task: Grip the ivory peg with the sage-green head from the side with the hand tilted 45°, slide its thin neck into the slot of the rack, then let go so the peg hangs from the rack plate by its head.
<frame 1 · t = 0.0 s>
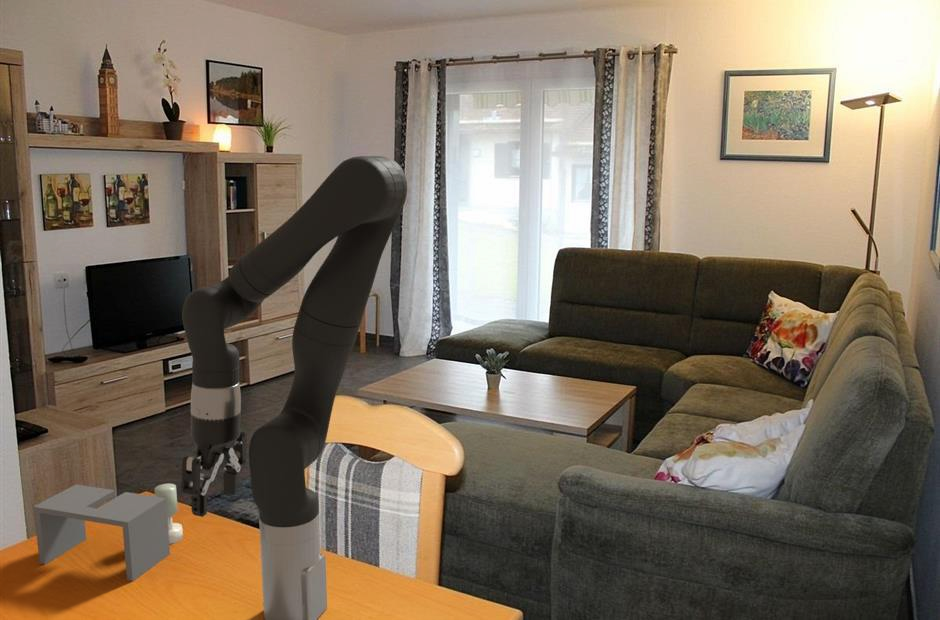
hand: (215, 503, 129), 17 cm above the table, tool pointing down, fingers open, 8 cm apart
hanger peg: (169, 538, 153), on the table
slotted rack: (101, 561, 144), on the table
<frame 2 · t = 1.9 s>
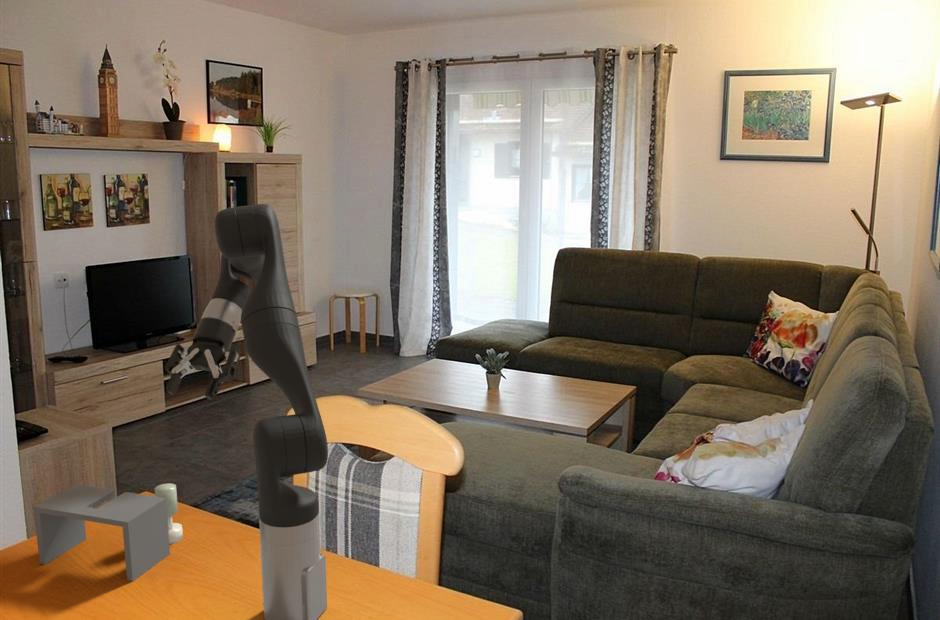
hand: (189, 395, 157), 26 cm above the table, tool tilted 45°, fingers open, 8 cm apart
nothing on the table moved.
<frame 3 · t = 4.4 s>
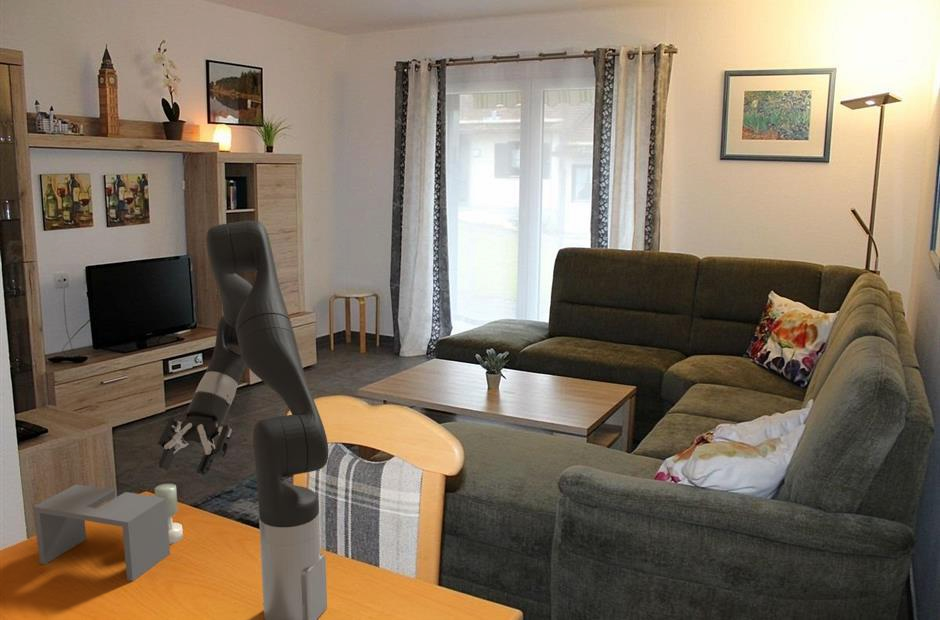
hand: (181, 472, 155), 12 cm above the table, tool tilted 45°, fingers open, 8 cm apart
nothing on the table moved.
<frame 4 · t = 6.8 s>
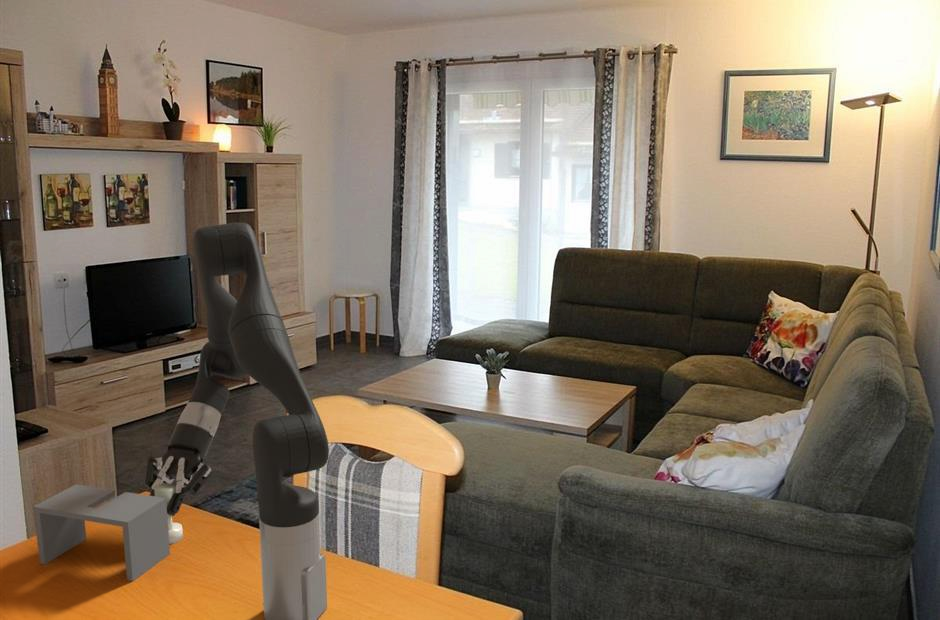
hand: (160, 512, 150), 6 cm above the table, tool tilted 45°, fingers closed on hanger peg, 3 cm apart
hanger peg: (169, 538, 153), on the table, touching gripper
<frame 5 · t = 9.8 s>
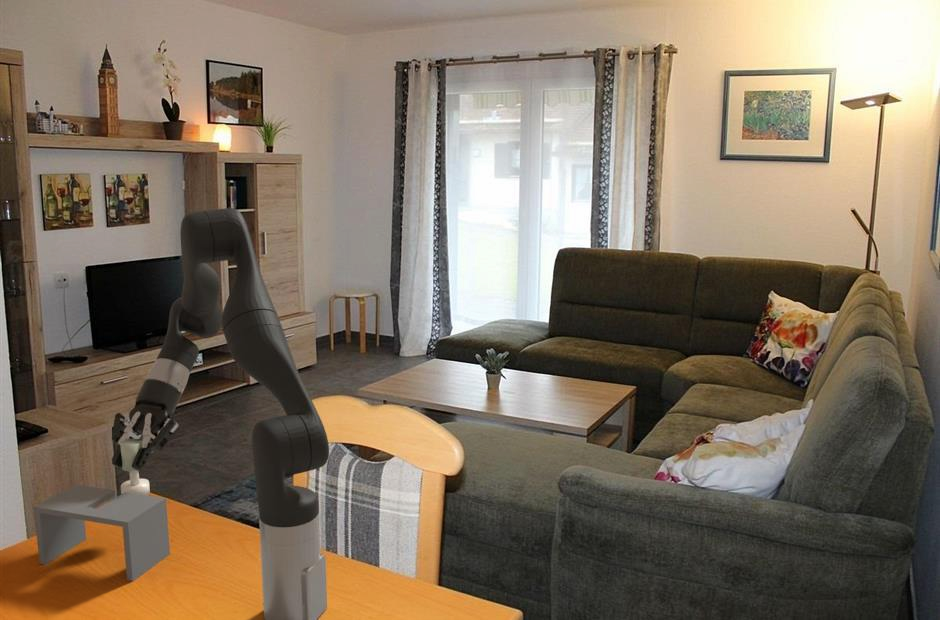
hand: (126, 467, 149), 15 cm above the table, tool tilted 45°, fingers closed on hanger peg, 3 cm apart
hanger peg: (135, 493, 152), point 9 cm above the table, touching gripper
when the fingers open (13 cm above the table, at t = 13.0 s): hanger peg drops 1 cm, resting on slotted rack.
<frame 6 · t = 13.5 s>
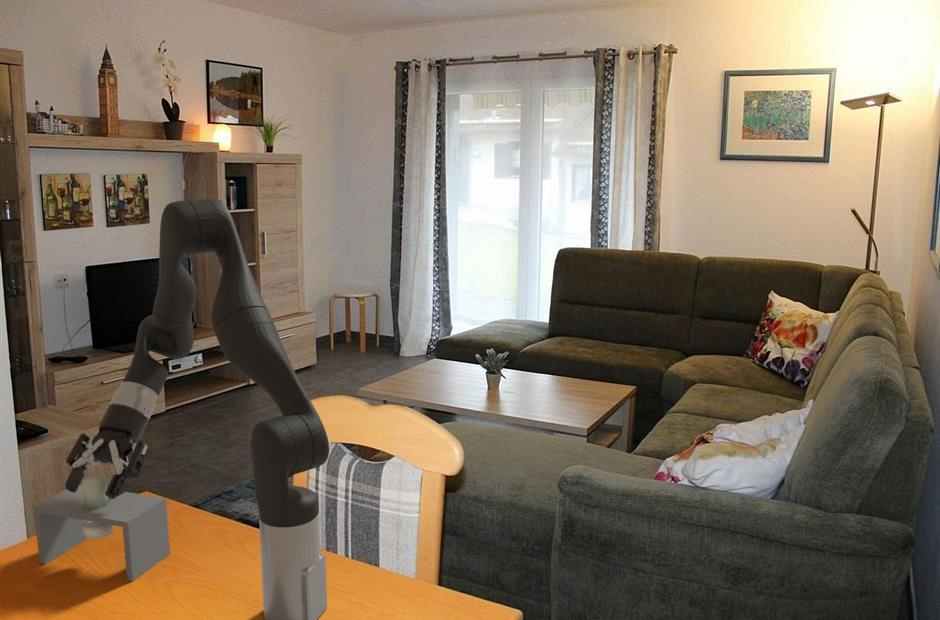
hand: (89, 493, 140), 14 cm above the table, tool tilted 45°, fingers open, 8 cm apart
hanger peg: (99, 532, 143), point 6 cm above the table, touching slotted rack
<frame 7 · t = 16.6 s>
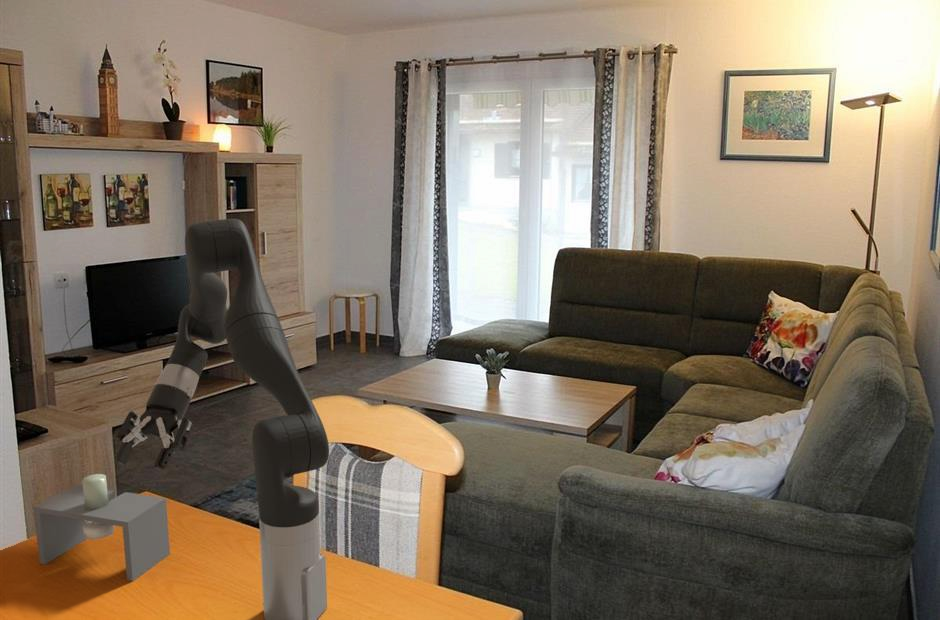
hand: (139, 466, 152), 14 cm above the table, tool tilted 45°, fingers open, 8 cm apart
nothing on the table moved.
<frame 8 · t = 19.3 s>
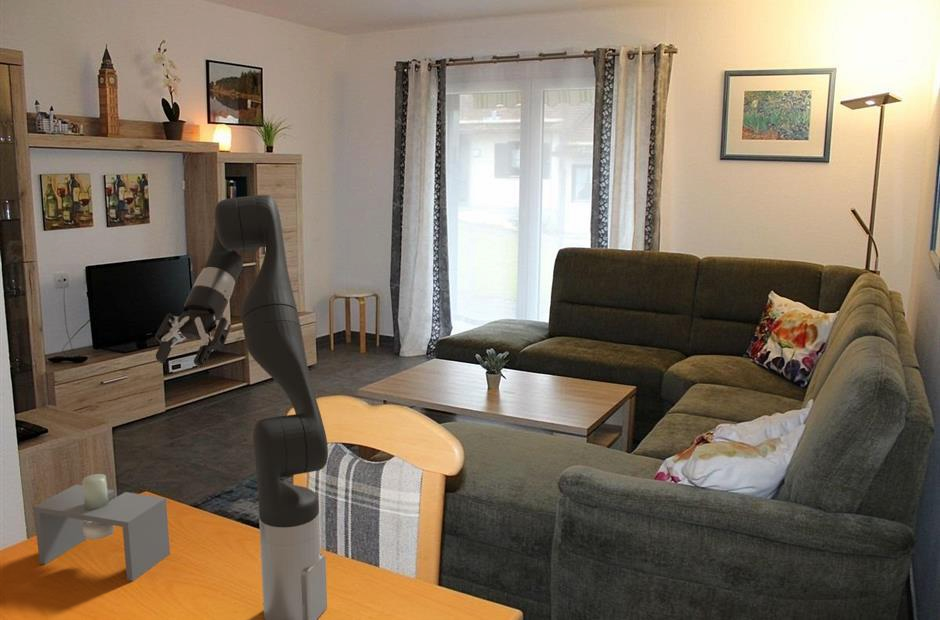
hand: (178, 363, 154), 33 cm above the table, tool tilted 45°, fingers open, 8 cm apart
nothing on the table moved.
at the end: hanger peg 0.5 cm off-centre on the slotted rack, point 5.6 cm above the slotted rack's base; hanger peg touching slotted rack; the gripper is holding nothing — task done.
